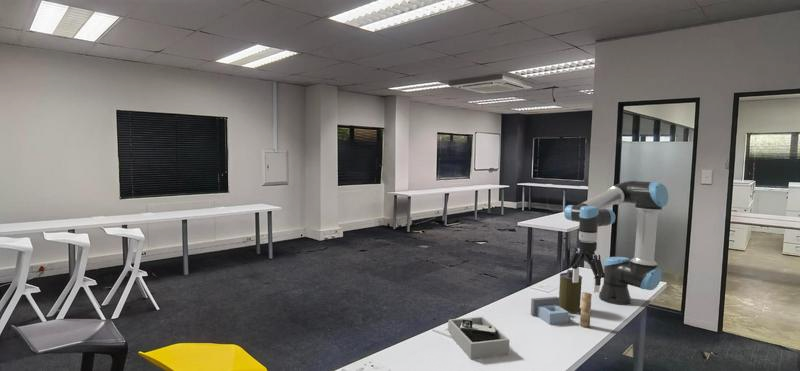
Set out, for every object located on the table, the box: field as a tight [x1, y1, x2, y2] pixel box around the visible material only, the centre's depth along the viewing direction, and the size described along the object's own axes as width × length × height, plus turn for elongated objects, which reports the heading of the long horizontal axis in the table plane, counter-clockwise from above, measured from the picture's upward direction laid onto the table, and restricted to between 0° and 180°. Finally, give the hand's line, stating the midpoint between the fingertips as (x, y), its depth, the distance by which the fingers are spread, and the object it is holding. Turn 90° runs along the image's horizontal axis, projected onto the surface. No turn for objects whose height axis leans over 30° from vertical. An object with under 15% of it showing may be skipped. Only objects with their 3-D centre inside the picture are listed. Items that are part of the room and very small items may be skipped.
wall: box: [530, 296, 559, 317], centre depth 200 cm, size 14×2×8 cm, turn 105°
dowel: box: [579, 292, 592, 329], centre depth 187 cm, size 4×4×15 cm
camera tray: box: [447, 316, 510, 360], centre depth 168 cm, size 16×23×6 cm
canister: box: [558, 269, 583, 315], centre depth 207 cm, size 11×10×20 cm
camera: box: [460, 317, 497, 342], centre depth 168 cm, size 15×8×10 cm, turn 71°
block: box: [536, 304, 570, 325], centre depth 194 cm, size 10×10×5 cm
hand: (585, 287), depth 186 cm, fingers open, 13 cm apart
